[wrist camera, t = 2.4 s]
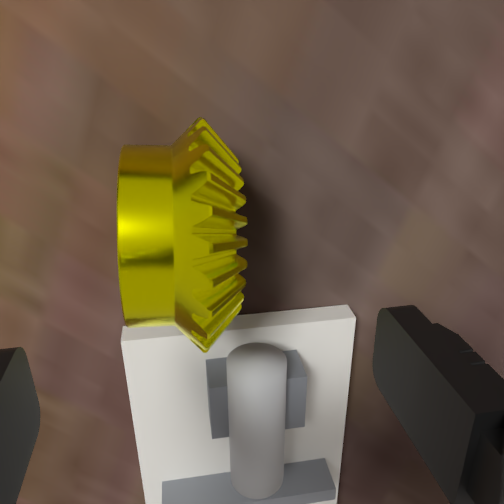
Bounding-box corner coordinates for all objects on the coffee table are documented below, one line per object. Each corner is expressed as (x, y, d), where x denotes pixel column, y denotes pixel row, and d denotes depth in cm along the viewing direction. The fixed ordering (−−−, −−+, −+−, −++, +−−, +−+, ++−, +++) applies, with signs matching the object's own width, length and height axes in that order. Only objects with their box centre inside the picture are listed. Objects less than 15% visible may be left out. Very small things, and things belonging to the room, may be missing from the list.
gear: (128, 99, 18) (103, 143, 11) (225, 103, 18) (263, 146, 11) (138, 283, 21) (124, 411, 14) (220, 281, 22) (246, 402, 15)
